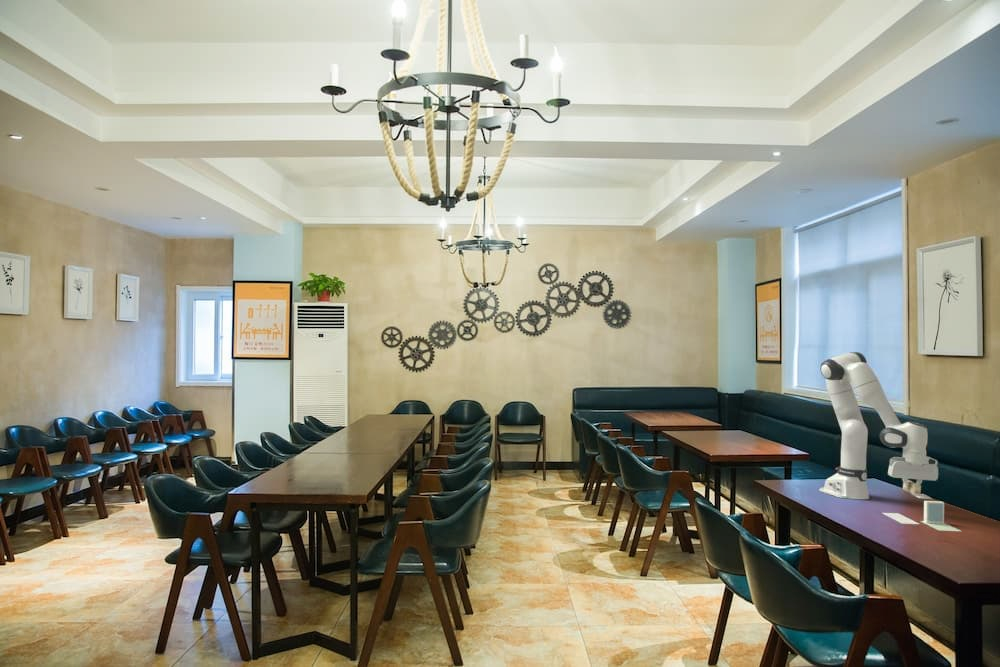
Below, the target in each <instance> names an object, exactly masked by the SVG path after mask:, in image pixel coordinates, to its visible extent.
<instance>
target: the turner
mask: <svg viewBox="0 0 1000 667" xmlns="http://www.w3.org/2000/svg"><path fill="white" fill-rule="evenodd" d="M907 483H908V484H909V485H910V489H909V488H905V487H904V485H905V484H904V482H903V481H902V490H904V491H906V492H908V493H910V494H911V495H912V496H913V497H915V498H918V499H921V500H922V499H923V500H925V499H926V500H932V497H930V496H929V495H927V494H924V493H921V491H922V485H921V484H920V485H919V484H917V483H916V482H914V481H912V480H911V479H908V481H907Z"/></svg>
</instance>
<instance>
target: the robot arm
mask: <svg viewBox="0 0 1000 667" xmlns="http://www.w3.org/2000/svg"><path fill="white" fill-rule="evenodd" d="M819 368H820V373H821V375H822V376H823V378H824V380H825V385H826V389H827V393H828V395H829V400H830V402H831V404H832V407H833V410H834V413H835V416H836V419H837V421H838V425H839V427H840V431H841V445H840V465H839V466H837V467H835V469H834V470H837V471H836V473H834V474H833V475H832V476H830V477H828V478H826V480H825V482H824V485H823V487H819V490H818V491H819V492H822V493H824V494H828V495H832V496H834V497H837V498H840V499H852V500H869V499H870V496H869V492H868V487H867V477H868V469H867V449H868V437H869V436H868V435H869V434H868V433H869V432H868V431H869V430H868V427H867V425H866V424H865V422H864V419H863V415H862V413H861V410H860V406H859V403H858V400H857V398H856V395H857V397H858V398H859V400H861V402H863V403H865V404H867V405H869V406H870V407H871V408H873V409H874V410H875V411H876V412H877V413H878V415H879V417H880V419H881V420H882V422H883V424H884V426H885V428H883V429H882V430H881V431H880V432H879V440H880V442H881V443H882V444H883V446H886V447H888V448H891V449H892V448H893V449H894V448H902V456H893V457H891V458H890V459H889V465H888V471H887V475H888V476H889V477H892V478H894V479H895V478H896V479H898V478H899V479H901V481H902V483H903V482H904V484H905V485H904V487H905V488H909V489H910V485H909V484H908V483H907V481H908V480H916V482H915V483H917V484H919V485H921V484H922V483H923V481H932V482H933V481H934V482H936V481H937V480H938V479H939V466H938V463H939V462H938V460H937V459H935V458H932V457H931V456H928V455H927V449H926V448H927V445H928V435H929V434H928V428H927V427H926V426H925V425H924V424H922V423H920V422H916V421H912V420H911V421H906V422H904V423H902V421H901V420H900V419H899V417H898V416H897V413H895V411H894V409H893V407H892V405H891V404H890V402H889V400H888V398H887V396H886V394H885V390H884V389H883V387H882V385H881V382H880V381H879V379H878V377H877V376H876V374H875V372H874V371H873V369H872V368H871V367H870V365H869V364H868V363H867V359H866V357H865V355H864V354H863V353H861V352H857V351H853V352H852V351H850V352H849V353H843V354H839V355H837V356H834V357H831V358H828V359H826V360H824V361H823V362H821V364H820V367H819ZM855 394H856V395H855Z"/></svg>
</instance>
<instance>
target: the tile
mask: <svg viewBox="0 0 1000 667" xmlns="http://www.w3.org/2000/svg"><path fill="white" fill-rule="evenodd" d="M923 521H924V522H925V523H934V524H944V523H945V502H944V501H939V500H924V501H923ZM925 523H924V524H925Z"/></svg>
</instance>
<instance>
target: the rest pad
mask: <svg viewBox="0 0 1000 667" xmlns="http://www.w3.org/2000/svg"><path fill="white" fill-rule="evenodd" d="M882 514H883V515H885V516H886V517H888V518H890V519H892V520H894V521H896V522H898V523H900V524H901V525H920V524H921V523H919V522H916V521H915V520H913V519H911V518H909V517H907V516H904V515H902V514H901V513H897V512H895V513H894V512H882Z"/></svg>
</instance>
